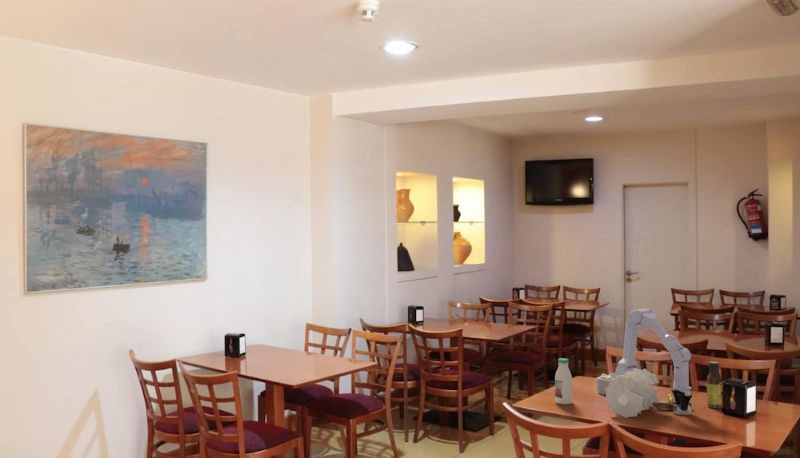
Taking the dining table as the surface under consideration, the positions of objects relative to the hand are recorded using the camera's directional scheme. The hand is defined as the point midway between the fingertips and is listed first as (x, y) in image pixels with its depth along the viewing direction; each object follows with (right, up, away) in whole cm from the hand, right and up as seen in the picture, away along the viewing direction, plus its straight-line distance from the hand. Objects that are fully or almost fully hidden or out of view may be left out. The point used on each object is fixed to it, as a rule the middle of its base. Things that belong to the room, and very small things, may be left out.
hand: (681, 408), depth 277 cm
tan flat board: (-1, -2, +8) cm, 8 cm away
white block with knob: (0, -2, 0) cm, 2 cm away
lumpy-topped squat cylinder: (-18, -3, +37) cm, 41 cm away
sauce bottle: (+19, -2, +9) cm, 21 cm away
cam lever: (-3, +1, +5) cm, 6 cm away
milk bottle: (-46, -3, +19) cm, 50 cm away
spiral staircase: (-21, -2, +1) cm, 21 cm away
